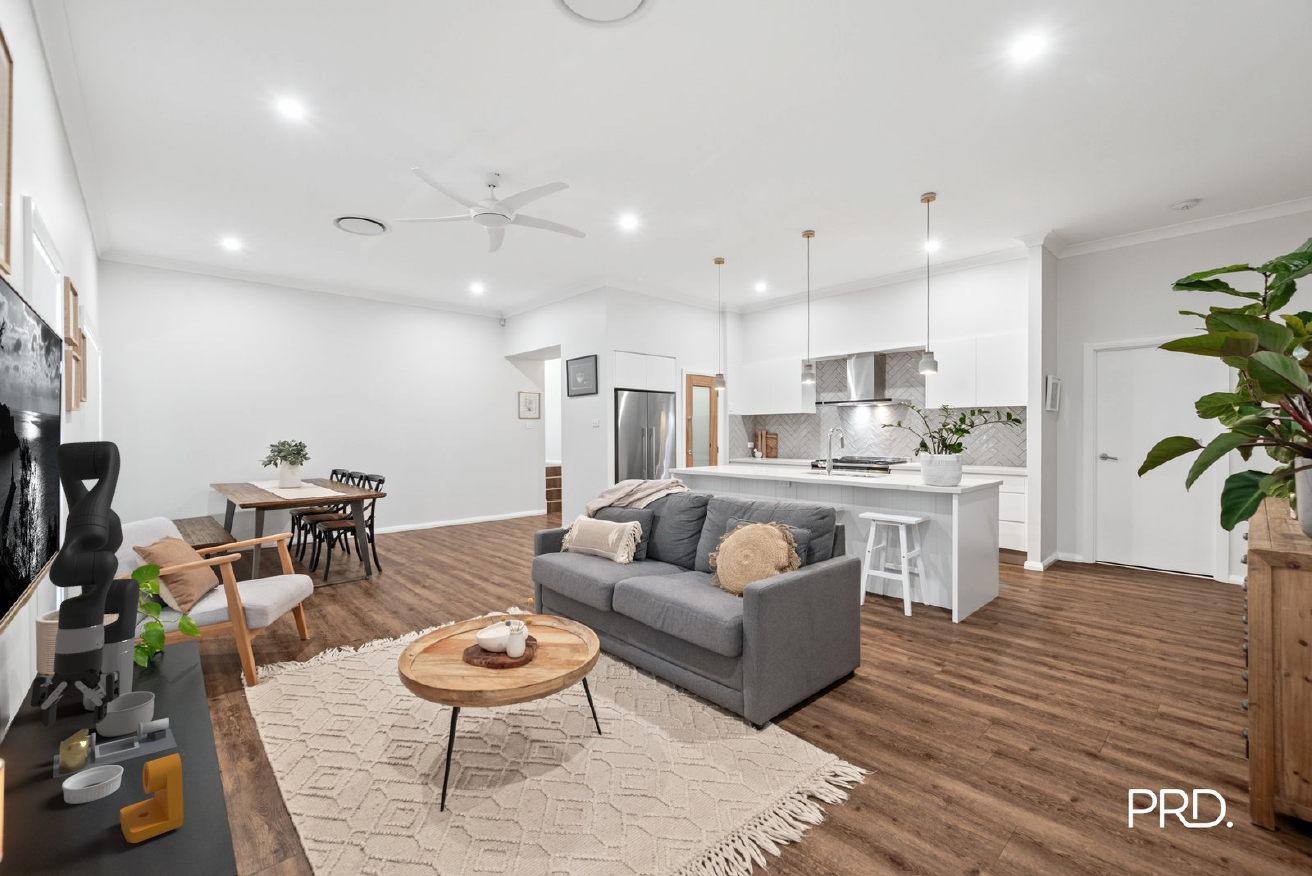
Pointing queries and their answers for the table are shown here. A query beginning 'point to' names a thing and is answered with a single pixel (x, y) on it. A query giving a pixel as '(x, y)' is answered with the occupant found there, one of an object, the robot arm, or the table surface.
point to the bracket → (156, 801)
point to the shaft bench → (127, 746)
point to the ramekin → (104, 774)
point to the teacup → (127, 714)
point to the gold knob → (74, 752)
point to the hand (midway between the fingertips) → (74, 723)
